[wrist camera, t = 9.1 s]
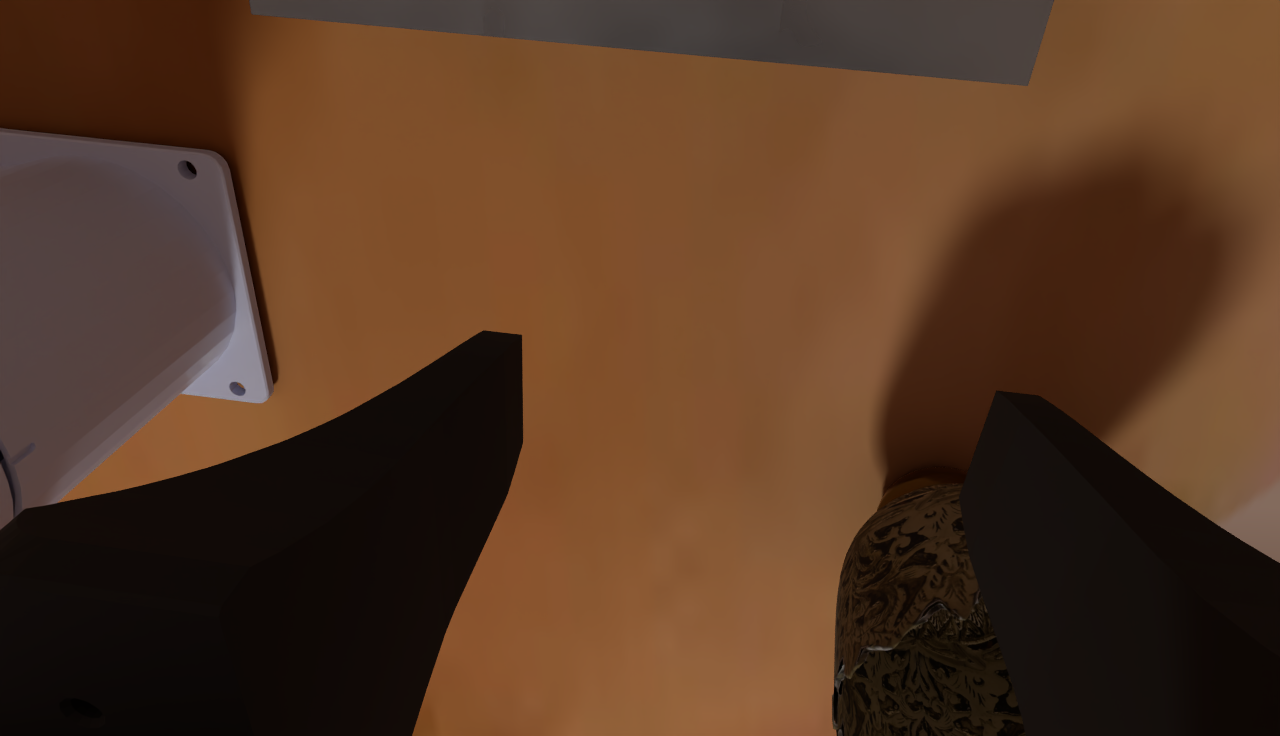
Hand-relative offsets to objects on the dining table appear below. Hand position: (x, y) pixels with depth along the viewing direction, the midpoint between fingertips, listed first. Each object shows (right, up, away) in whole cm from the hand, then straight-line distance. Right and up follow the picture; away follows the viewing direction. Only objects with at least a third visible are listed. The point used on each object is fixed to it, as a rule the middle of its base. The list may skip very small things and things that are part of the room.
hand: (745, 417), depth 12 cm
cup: (+8, -3, +13) cm, 15 cm away
